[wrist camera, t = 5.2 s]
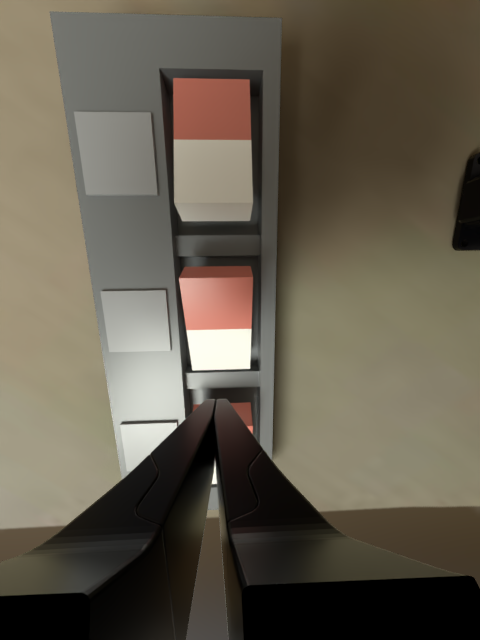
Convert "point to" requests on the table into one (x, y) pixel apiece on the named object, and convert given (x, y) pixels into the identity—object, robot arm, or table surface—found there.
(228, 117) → the rocker
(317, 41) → the table surface
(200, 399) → the power board
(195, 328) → the block
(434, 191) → the table surface
